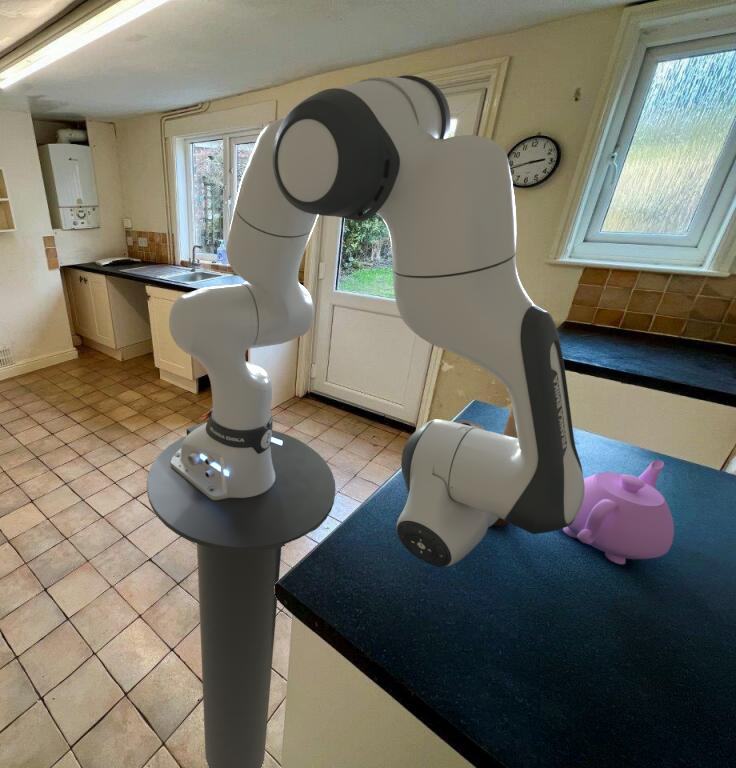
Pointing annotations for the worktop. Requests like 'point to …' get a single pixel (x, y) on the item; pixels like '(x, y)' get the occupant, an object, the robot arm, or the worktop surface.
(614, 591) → the worktop surface
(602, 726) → the worktop surface
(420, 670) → the worktop surface
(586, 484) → the teapot
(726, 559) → the worktop surface
